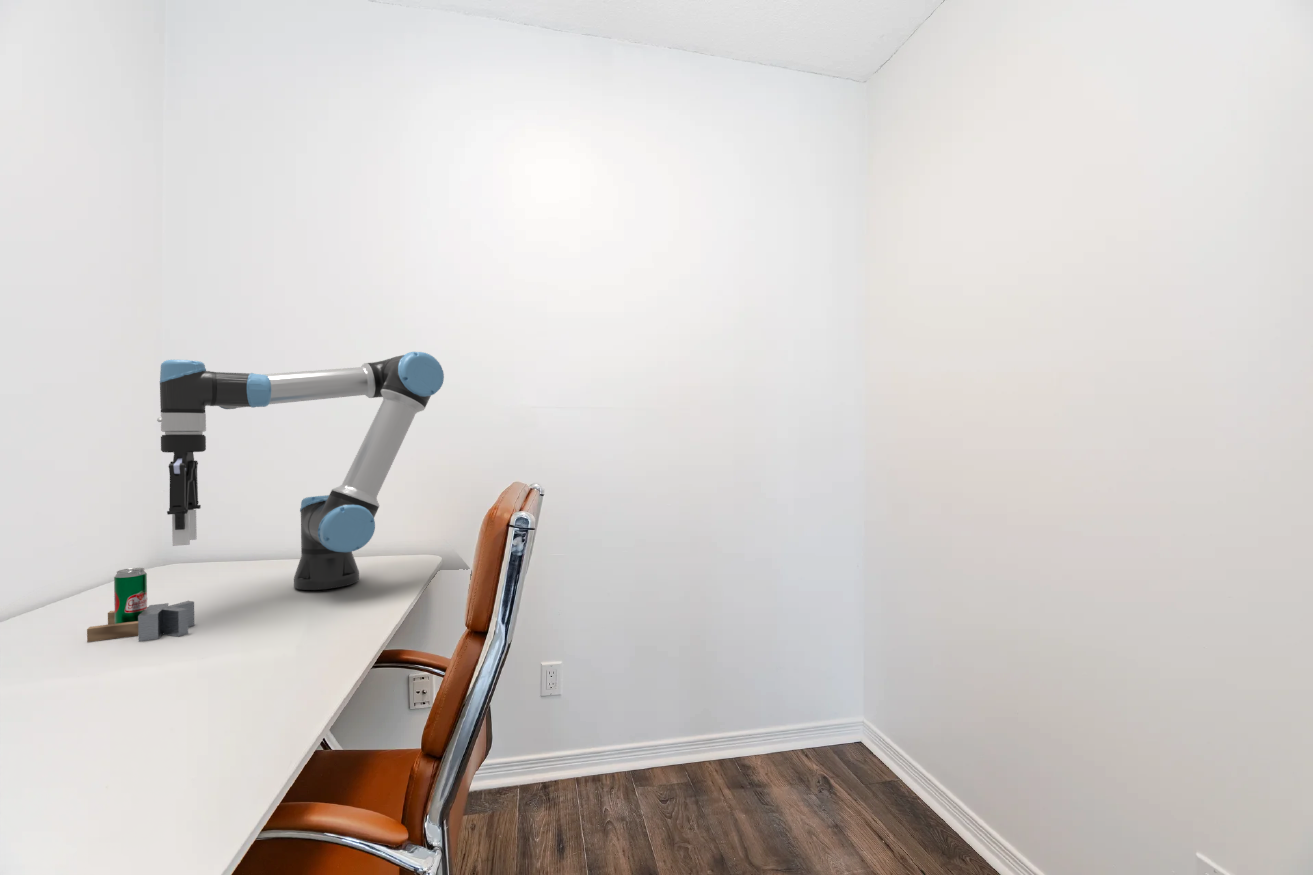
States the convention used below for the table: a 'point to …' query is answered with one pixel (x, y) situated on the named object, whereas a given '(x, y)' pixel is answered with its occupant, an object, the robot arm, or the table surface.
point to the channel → (112, 630)
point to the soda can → (130, 594)
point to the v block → (165, 620)
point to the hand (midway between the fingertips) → (184, 542)
